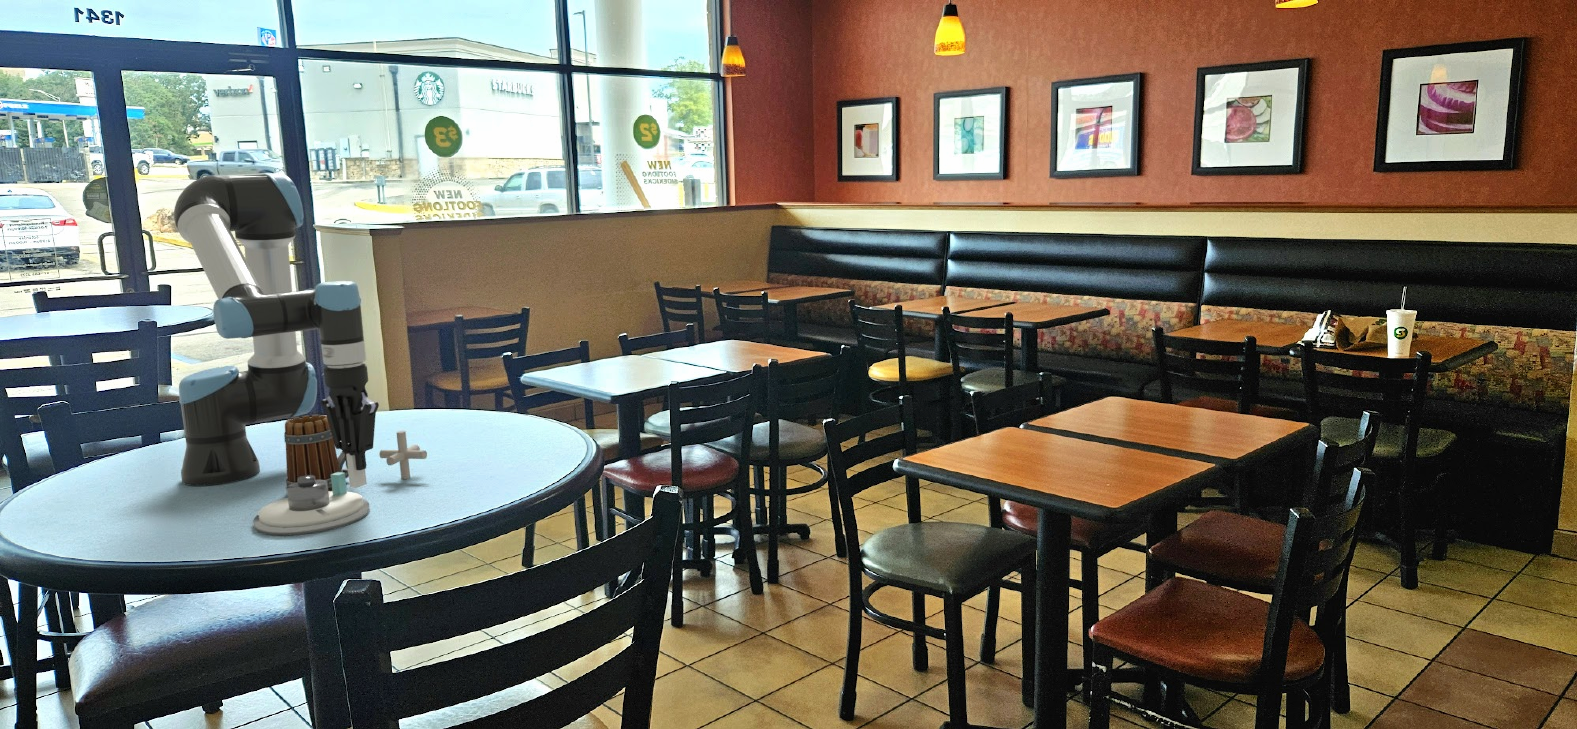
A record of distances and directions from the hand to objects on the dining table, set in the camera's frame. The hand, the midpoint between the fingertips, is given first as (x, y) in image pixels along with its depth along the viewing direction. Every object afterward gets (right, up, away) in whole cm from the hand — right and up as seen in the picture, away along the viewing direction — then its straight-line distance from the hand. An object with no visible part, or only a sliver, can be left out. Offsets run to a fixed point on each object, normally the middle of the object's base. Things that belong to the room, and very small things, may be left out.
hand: (358, 485), depth 206 cm
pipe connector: (+1, -1, +22) cm, 22 cm away
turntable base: (-7, -6, -4) cm, 10 cm away
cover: (-8, -3, -4) cm, 9 cm away
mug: (-13, -3, +17) cm, 22 cm away
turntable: (-7, -4, -4) cm, 9 cm away
